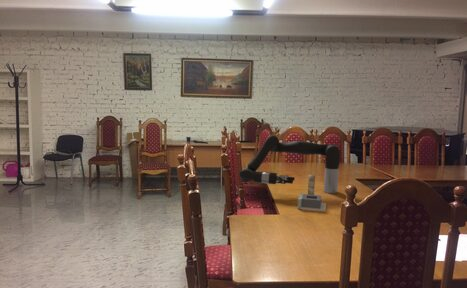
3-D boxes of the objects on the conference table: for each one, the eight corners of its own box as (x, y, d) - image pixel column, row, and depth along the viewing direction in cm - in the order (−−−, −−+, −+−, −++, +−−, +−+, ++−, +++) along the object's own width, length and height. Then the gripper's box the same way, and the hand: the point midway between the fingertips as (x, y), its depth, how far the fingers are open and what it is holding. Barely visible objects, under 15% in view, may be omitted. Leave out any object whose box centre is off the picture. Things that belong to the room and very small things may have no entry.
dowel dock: (299, 202, 229) (300, 193, 228) (326, 204, 224) (326, 195, 224) (297, 208, 215) (298, 199, 215) (325, 211, 211) (325, 201, 210)
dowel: (307, 198, 238) (308, 174, 236) (314, 198, 237) (315, 174, 235) (307, 199, 234) (308, 175, 232) (313, 200, 233) (314, 176, 231)
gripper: (267, 174, 234) (292, 177, 230) (271, 170, 248) (295, 172, 244) (266, 186, 235) (292, 188, 231) (270, 181, 249) (294, 183, 245)
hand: (293, 180), depth 237 cm, fingers open, 8 cm apart
